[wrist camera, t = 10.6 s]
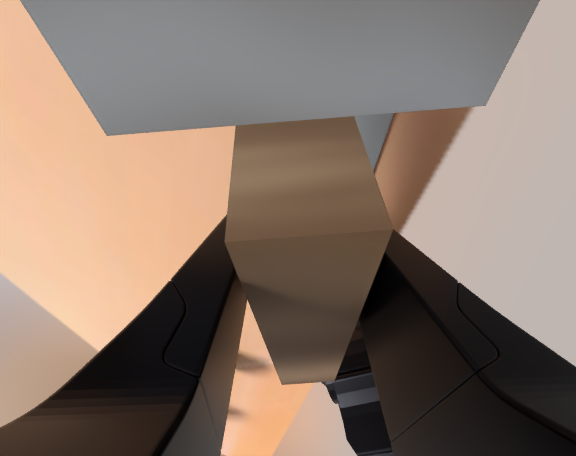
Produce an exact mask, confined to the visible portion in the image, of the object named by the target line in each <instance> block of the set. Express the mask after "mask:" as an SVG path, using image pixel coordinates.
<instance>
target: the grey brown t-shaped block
mask: <svg viewBox="0 0 576 456" xmlns="http://www.w3.org/2000/svg"><path fill="white" fill-rule="evenodd" d="M20 1H21V2H22V4H23V6H24V7H25V9H26V10H27V12H28V13H29V15H30V16H31V18H32V20H33V21H34V23H35V24H36V26H37V27H38V29H39V31H40V32H41V34H42V35H43V37H44V38H45V40H46V41H47V43H48V45H49V46H50V48H51V49H52V51H53V52H54V54H55V55H56V57H57V59H58V60H59V62H60V63H61V65H62V66H63V68H64V70H65V71H66V73H67V74H68V76H69V77H70V79H71V80H72V82H73V84H74V85H75V87H76V88H77V90H78V91H79V93H80V94H81V96H82V98H83V99H84V101H85V102H86V104H87V105H88V107H89V108H90V110H91V112H92V113H93V115H94V116H95V118H96V119H97V121H98V123H99V124H100V126H101V127H102V129H103V130H104V132H105V133H106V135H107V136H110V135H122V134H135V133H148V132H160V131H173V130H185V129H198V128H211V127H223V126H236V129H235V139H234V150H233V160H232V170H231V180H230V191H229V201H228V211H227V221H226V232H225V245H226V247H227V250H228V252H229V255H230V257H231V260H232V262H233V265H234V267H235V270H236V272H237V274H238V277H239V279H240V282H241V284H242V287H243V289H244V292H245V294H246V297H247V299H248V302H249V304H250V307H251V309H252V312H253V314H254V317H255V319H256V322H257V324H258V327H259V329H260V332H261V334H262V337H263V339H264V342H265V344H266V346H267V349H268V351H269V354H270V356H271V359H272V361H273V364H274V366H275V369H276V371H277V374H278V376H279V379H280V381H281V384H282V385H286V384H300V383H314V382H329V381H334V380H335V378H336V375H337V373H338V370H339V368H340V365H341V362H342V360H343V357H344V355H345V352H346V350H347V347H348V344H349V342H350V339H351V337H352V334H353V332H354V329H355V326H356V324H357V321H358V319H359V316H360V314H361V311H362V308H363V306H364V303H365V301H366V298H367V296H368V293H369V290H370V288H371V285H372V283H373V280H374V278H375V275H376V272H377V270H378V267H379V265H380V262H381V260H382V257H383V254H384V252H385V249H386V247H387V244H388V242H389V239H390V236H391V234H392V231H393V227H392V225H391V222H390V219H389V216H388V213H387V210H386V207H385V204H384V201H383V198H382V196H381V193H380V190H379V187H378V184H377V181H376V178H375V175H374V172H373V169H372V167H371V164H370V161H369V158H368V155H367V152H366V149H365V146H364V143H363V140H362V138H361V135H360V132H359V129H358V126H357V123H356V120H355V117H354V116H362V115H374V114H387V113H399V112H412V111H424V110H437V109H450V108H462V107H475V106H485V105H486V104H487V102H488V100H489V98H490V96H491V94H492V92H493V90H494V88H495V86H496V84H497V82H498V80H499V78H500V77H501V75H502V73H503V71H504V69H505V67H506V65H507V63H508V61H509V59H510V57H511V55H512V53H513V51H514V49H515V47H516V46H517V44H518V42H519V40H520V38H521V36H522V34H523V32H524V30H525V28H526V26H527V24H528V22H529V20H530V18H531V16H532V14H533V13H534V11H535V9H536V7H537V5H538V3H539V1H540V0H20Z"/></svg>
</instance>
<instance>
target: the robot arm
mask: <svg viewBox="0 0 576 456" xmlns="http://www.w3.org/2000/svg"><path fill="white" fill-rule="evenodd" d="M226 221H227V215H226V216H225V217H224V218H223V220H222V221H221V222H220V223H219V224H218V225H217V226H216V228H215V229H214V230H213V231H212V232H211V233H210V235H209V236H208V237H207V238H206V239H205V240H204V241H203V243H202V244H201V245H200V246H199V247H198V248H197V250H196V251H195V252H194V253H193V254H192V255H191V256H190V258H189V259H188V260H187V261H186V262H185V263H184V265H183V266H182V267H181V268H180V269H179V270H178V271H177V273H176V274H175V275H174V276H173V277H172V278H171V281H169V282H168V283H167V284H166V285H165V286H164V287H163V289H162V290H161V291H160V292H159V293H158V294H157V295H156V296H155V298H154V299H153V300H152V301H151V302H150V303H149V304H148V305H147V306H146V307H145V308H144V309H143V310H142V311H141V312H140V313H139V314H138V315H137V316H136V317H135V318H134V319H133V320H132V321H131V322H130V323H129V324H128V325H127V326H126V327H125V328H124V329H123V330H122V331H121V332H120V333H119V334H118V335H117V336H116V337H115V338H113V339H112V340H111V341H110V342H109V343H108V344H107V345H106V346H105V347H104V348H103V349H102V350H101V351H100V352H99V353H97V354H96V355H95V356H94V357H93V358H92V359H91V360H90V361H89V362H88V363H87V364H86V365H85V366H84V367H83V368H82V369H80V370H79V371H78V372H77V373H76V374H75V375H74V376H73V377H72V378H71V379H70V380H69V381H68V382H66V383H65V384H64V385H63V386H62V387H61V388H60V389H58V390H57V391H56V392H55V393H54V394H52V395H51V396H50V397H49V398H47V399H46V400H45V401H43V402H42V403H40V404H39V405H38V406H36V407H35V408H33V409H32V410H30V411H29V412H27V413H25V414H24V415H23V416H21V417H19V418H17V419H15V420H14V421H12V422H10V423H8V424H6V425H4V426H2V427H0V456H220V454H221V451H220V450H221V448H222V442H223V436H224V431H225V425H226V419H227V413H228V408H229V402H230V396H231V390H232V384H233V379H234V373H235V367H236V361H237V356H238V350H239V344H240V338H241V332H242V327H243V321H244V315H245V309H246V304H247V297H246V294H245V292H244V289H243V287H242V284H241V282H240V279H239V277H238V274H237V272H236V270H235V267H234V265H233V262H232V260H231V257H230V255H229V252H228V250H227V247H226V245H225V232H226ZM322 383H323V384H324V385H325V386H326V387H327V389H328V392H329V394H330V397H331V399H332V401H333V402H334V403H335V404H339V408H340V412H341V416H342V419H343V423H344V428H345V433H346V438H347V441H348V442H349V444H350V445H351V447H352V448H353V450H354V451H355V453H356V454H357V456H576V367H575V366H574V365H572V364H571V363H569V362H568V361H567V360H565V359H564V358H562V357H561V356H559V355H558V354H557V353H555V352H554V351H552V350H551V349H550V348H548V347H547V346H545V345H544V344H542V343H541V342H539V341H538V340H537V339H535V338H534V337H532V336H531V335H529V334H528V333H526V332H525V331H524V330H522V329H521V328H520V327H518V326H517V325H515V324H514V323H512V322H511V321H510V320H508V319H507V318H506V317H504V316H503V315H501V314H500V313H499V312H497V311H496V310H494V309H493V308H491V307H490V306H489V305H488V304H487V303H485V302H484V301H483V300H481V299H480V298H479V297H478V296H476V295H475V294H474V293H472V292H471V291H470V290H469V289H467V288H466V287H464V285H462V284H461V283H458V281H457V280H456V279H455V278H454V277H452V276H451V275H450V274H448V273H447V272H446V271H445V270H443V269H442V268H441V267H440V266H439V265H437V264H436V263H435V262H434V261H432V260H431V259H430V258H429V257H427V256H426V255H425V254H424V253H422V252H421V251H419V249H417V248H416V247H415V246H414V245H412V244H411V243H410V242H408V241H407V240H406V239H405V238H403V237H402V236H401V235H400V234H399V233H397V232H396V231H395V230H394V229H393V231H392V234H391V236H390V239H389V242H388V244H387V247H386V249H385V252H384V254H383V257H382V260H381V262H380V265H379V267H378V270H377V272H376V275H375V278H374V280H373V283H372V285H371V288H370V290H369V293H368V296H367V298H366V301H365V303H364V306H363V308H362V311H361V314H360V316H359V319H358V321H357V324H356V326H355V329H354V332H353V334H352V337H351V339H350V342H349V344H348V347H347V350H346V352H345V355H344V357H343V360H342V362H341V365H340V368H339V370H338V373H337V375H336V378H335V380H334V381H329V382H322Z"/></svg>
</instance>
